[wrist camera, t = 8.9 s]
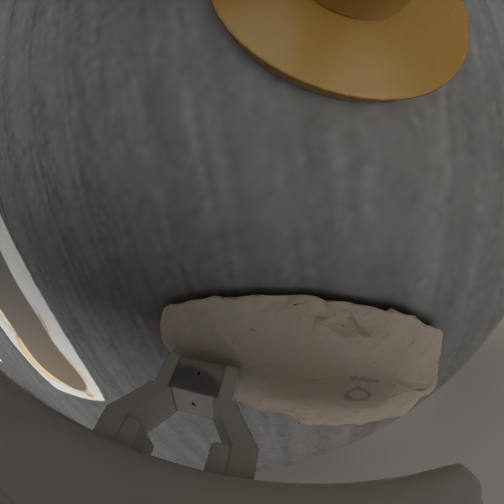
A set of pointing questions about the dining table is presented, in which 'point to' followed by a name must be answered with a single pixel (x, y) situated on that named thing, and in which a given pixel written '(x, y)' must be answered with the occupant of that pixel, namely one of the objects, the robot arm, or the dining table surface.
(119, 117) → the dining table surface
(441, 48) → the candle stand
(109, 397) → the dining table surface
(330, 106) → the dining table surface
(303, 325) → the stone
